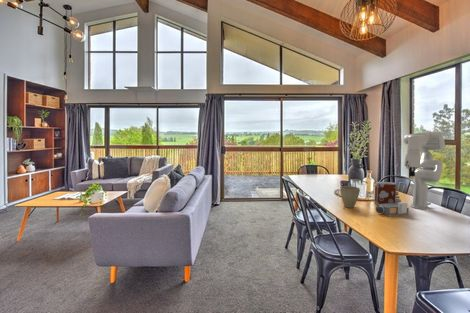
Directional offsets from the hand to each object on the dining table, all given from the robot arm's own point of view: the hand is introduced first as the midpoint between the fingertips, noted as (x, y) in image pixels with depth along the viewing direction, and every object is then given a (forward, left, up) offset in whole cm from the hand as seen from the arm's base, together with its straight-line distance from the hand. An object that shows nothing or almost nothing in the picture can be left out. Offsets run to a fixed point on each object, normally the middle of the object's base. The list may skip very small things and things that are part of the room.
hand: (411, 176), depth 188 cm
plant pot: (+31, -28, -29) cm, 51 cm away
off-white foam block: (+7, 0, -28) cm, 29 cm away
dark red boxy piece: (-2, -22, -29) cm, 37 cm away
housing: (+12, -5, -29) cm, 32 cm away
